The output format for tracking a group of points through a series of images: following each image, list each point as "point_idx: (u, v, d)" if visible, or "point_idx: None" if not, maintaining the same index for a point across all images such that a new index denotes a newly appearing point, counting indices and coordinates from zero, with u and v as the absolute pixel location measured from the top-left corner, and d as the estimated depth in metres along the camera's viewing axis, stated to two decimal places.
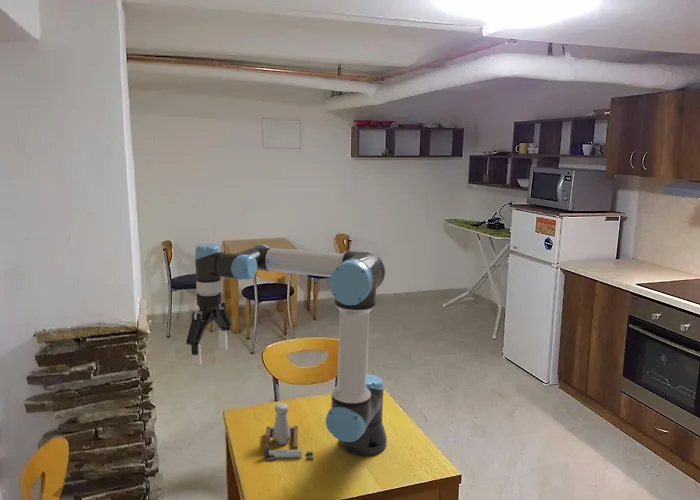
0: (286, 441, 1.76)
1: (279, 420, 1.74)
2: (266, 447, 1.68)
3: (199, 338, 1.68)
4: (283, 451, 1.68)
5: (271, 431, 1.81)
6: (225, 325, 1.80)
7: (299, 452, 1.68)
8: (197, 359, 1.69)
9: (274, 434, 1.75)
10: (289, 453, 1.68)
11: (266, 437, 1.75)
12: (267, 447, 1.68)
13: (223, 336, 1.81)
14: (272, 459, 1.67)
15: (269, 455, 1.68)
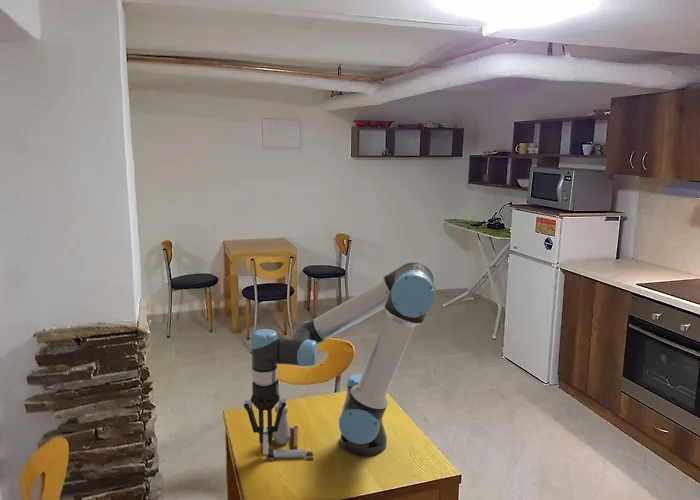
0: (286, 441, 1.76)
1: None
2: (270, 447, 1.68)
3: (260, 427, 1.65)
4: (287, 451, 1.68)
5: None
6: (269, 427, 1.65)
7: (303, 452, 1.68)
8: (263, 448, 1.67)
9: (274, 434, 1.75)
10: (293, 453, 1.68)
11: None
12: (271, 447, 1.68)
13: None
14: (272, 459, 1.67)
15: (273, 455, 1.68)
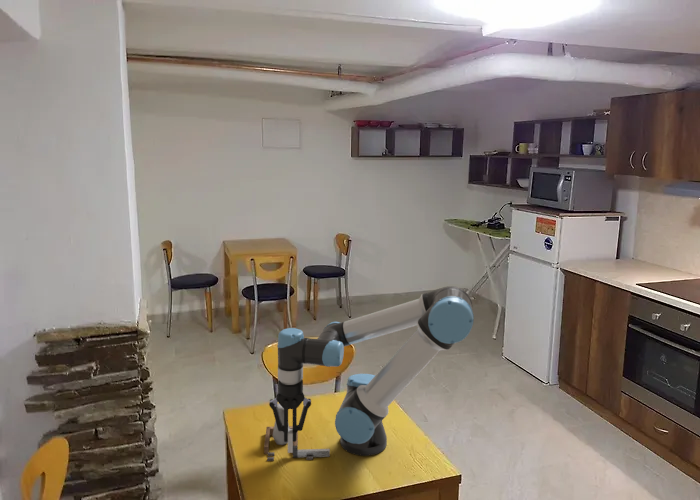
0: None
1: None
2: (294, 446, 1.68)
3: (285, 426, 1.65)
4: (311, 450, 1.69)
5: (271, 431, 1.81)
6: (294, 426, 1.66)
7: (327, 451, 1.69)
8: None
9: (274, 434, 1.75)
10: (317, 452, 1.69)
11: (266, 437, 1.75)
12: (295, 446, 1.68)
13: None
14: (272, 459, 1.67)
15: (297, 454, 1.68)
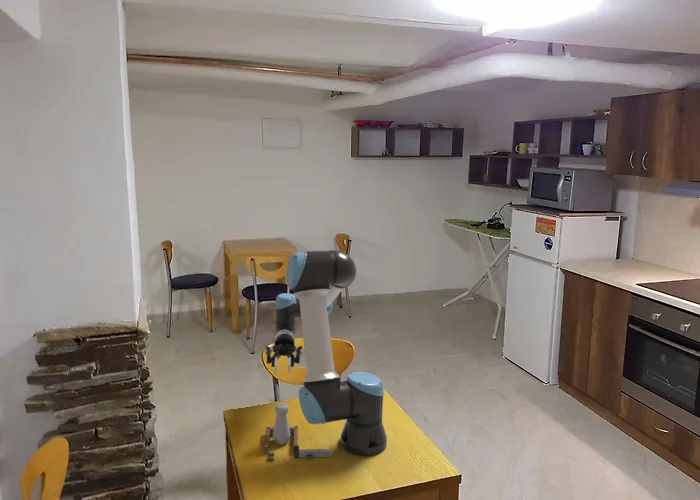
0: (286, 441, 1.76)
1: (279, 420, 1.74)
2: (296, 446, 1.68)
3: (274, 355, 1.88)
4: (313, 450, 1.69)
5: (271, 431, 1.81)
6: (291, 355, 1.89)
7: (329, 451, 1.69)
8: None
9: (274, 434, 1.75)
10: (319, 452, 1.69)
11: (266, 437, 1.75)
12: (297, 446, 1.68)
13: None
14: (272, 459, 1.67)
15: (299, 454, 1.68)
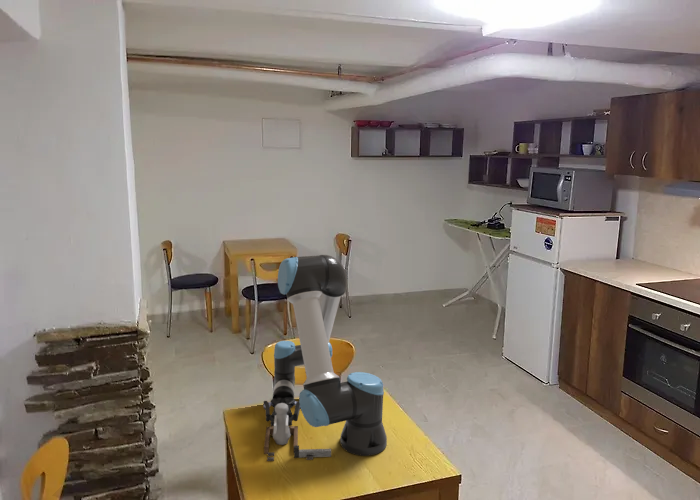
0: (286, 441, 1.76)
1: (279, 420, 1.74)
2: (296, 446, 1.68)
3: (274, 412, 1.79)
4: (313, 450, 1.69)
5: (271, 431, 1.81)
6: (289, 412, 1.79)
7: (329, 451, 1.69)
8: (274, 425, 1.72)
9: (274, 434, 1.75)
10: (319, 452, 1.69)
11: (266, 437, 1.75)
12: (297, 446, 1.68)
13: None
14: (272, 459, 1.67)
15: (299, 454, 1.68)
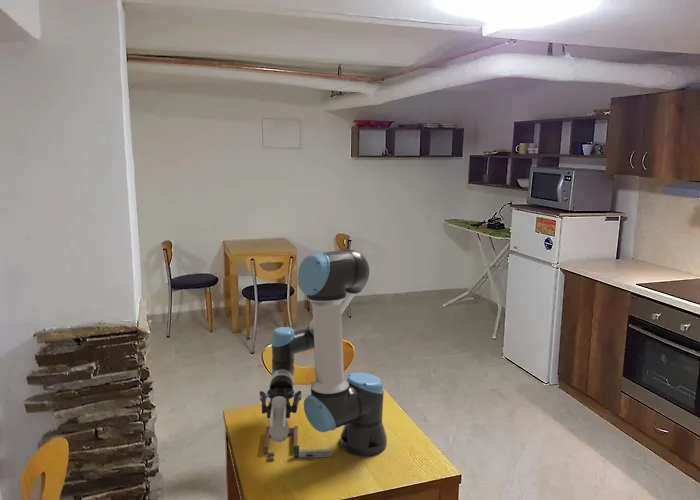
0: (284, 438, 1.60)
1: (276, 415, 1.59)
2: (296, 446, 1.68)
3: (270, 403, 1.63)
4: (313, 450, 1.69)
5: None
6: (287, 403, 1.63)
7: (329, 451, 1.69)
8: (270, 417, 1.56)
9: (271, 430, 1.59)
10: (319, 452, 1.69)
11: (266, 437, 1.75)
12: (297, 446, 1.68)
13: None
14: (272, 459, 1.67)
15: (299, 454, 1.68)
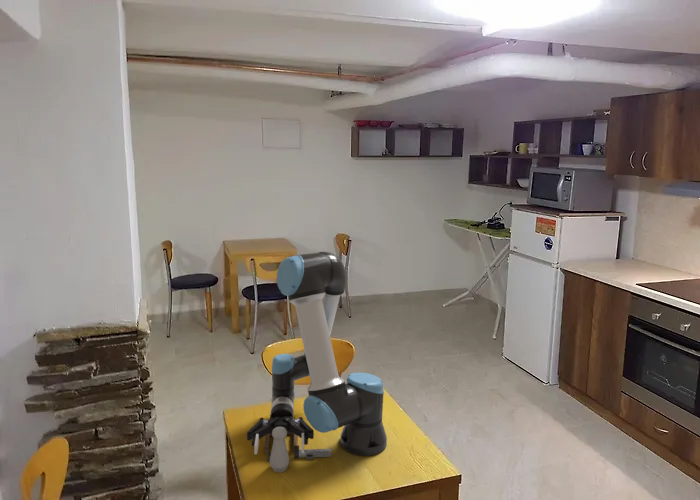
0: (285, 468, 1.61)
1: (277, 446, 1.60)
2: (296, 446, 1.68)
3: (258, 430, 1.65)
4: (313, 450, 1.69)
5: None
6: (302, 429, 1.67)
7: (329, 451, 1.69)
8: (254, 445, 1.59)
9: (271, 461, 1.61)
10: (319, 452, 1.69)
11: (266, 437, 1.75)
12: (297, 446, 1.68)
13: None
14: None
15: (299, 454, 1.68)
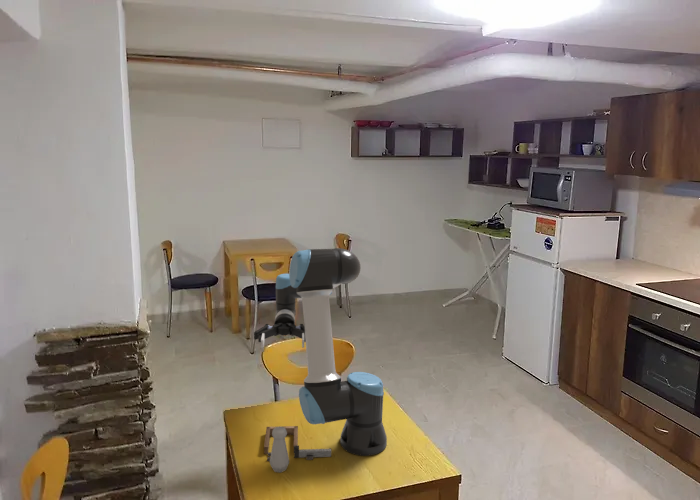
0: (285, 468, 1.61)
1: (276, 446, 1.60)
2: (296, 446, 1.68)
3: (264, 331, 1.88)
4: (313, 450, 1.69)
5: (271, 431, 1.81)
6: (302, 331, 1.90)
7: (329, 451, 1.69)
8: (261, 340, 1.82)
9: (271, 461, 1.61)
10: (319, 452, 1.69)
11: (266, 437, 1.75)
12: (297, 446, 1.68)
13: None
14: None
15: (299, 454, 1.68)
